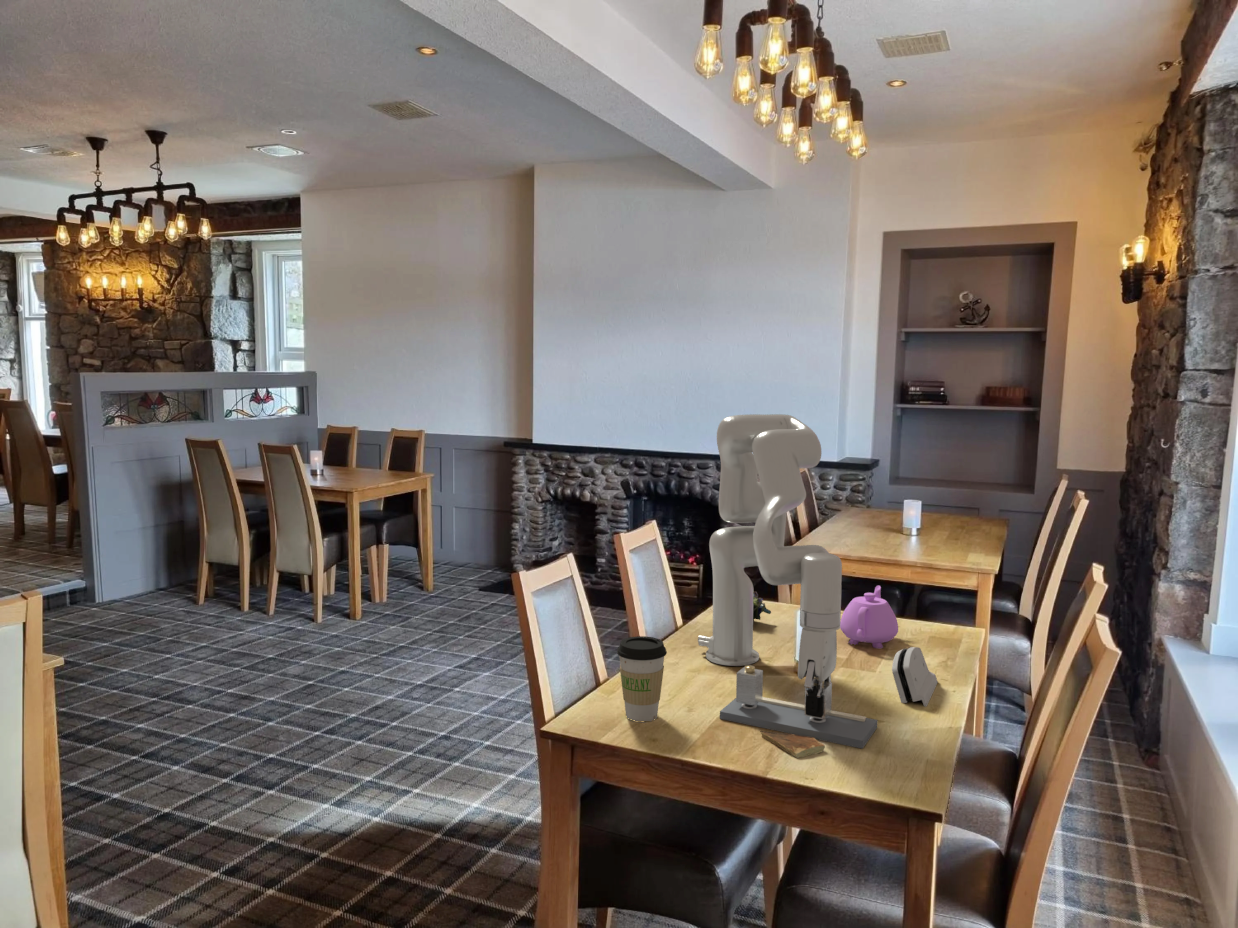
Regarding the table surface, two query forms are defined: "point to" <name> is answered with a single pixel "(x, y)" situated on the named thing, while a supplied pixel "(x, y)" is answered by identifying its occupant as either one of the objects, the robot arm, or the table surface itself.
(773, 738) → the shard
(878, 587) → the teapot
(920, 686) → the grey layered slab
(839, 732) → the hole plate
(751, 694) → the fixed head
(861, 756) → the table surface
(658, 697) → the coffee cup
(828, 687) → the block
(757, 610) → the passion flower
